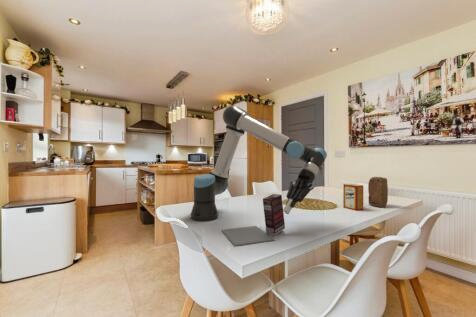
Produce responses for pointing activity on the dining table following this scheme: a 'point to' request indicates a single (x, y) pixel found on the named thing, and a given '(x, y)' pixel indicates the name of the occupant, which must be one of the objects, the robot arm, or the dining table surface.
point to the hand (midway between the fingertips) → (285, 212)
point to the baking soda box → (353, 197)
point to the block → (378, 191)
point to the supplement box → (273, 214)
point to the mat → (247, 235)
